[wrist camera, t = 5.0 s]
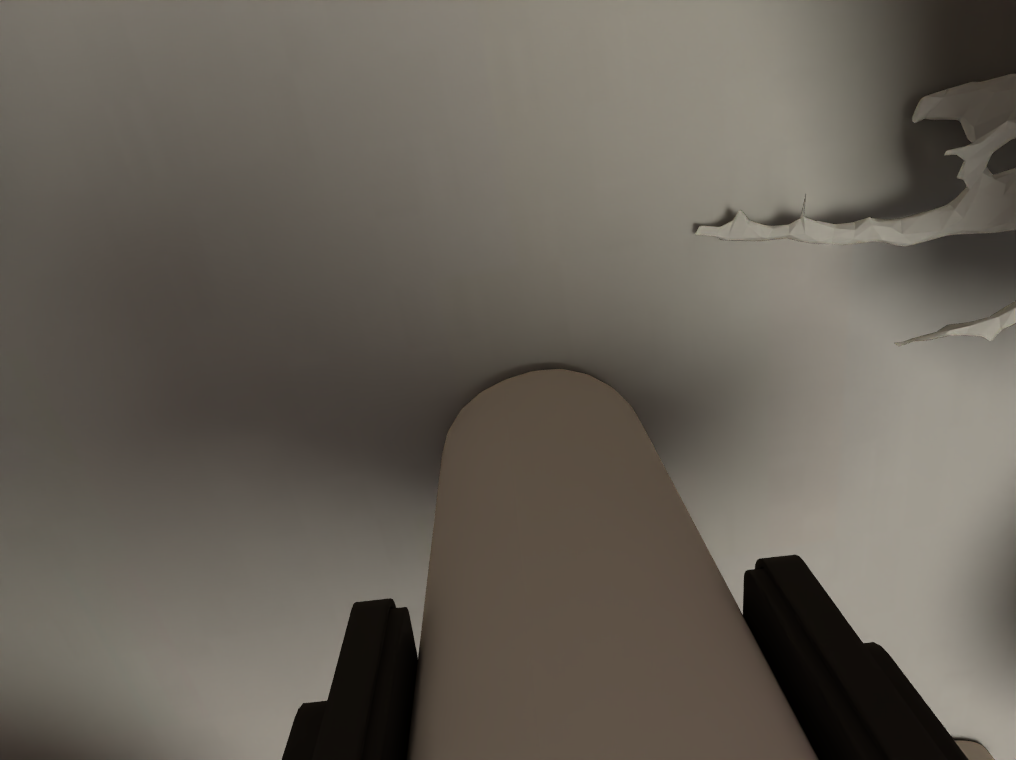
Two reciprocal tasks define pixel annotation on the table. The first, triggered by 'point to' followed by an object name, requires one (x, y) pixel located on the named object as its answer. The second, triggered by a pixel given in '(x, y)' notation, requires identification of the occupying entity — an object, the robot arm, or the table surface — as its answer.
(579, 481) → the grey cylinder
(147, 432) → the table surface
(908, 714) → the robot arm
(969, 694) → the table surface
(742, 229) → the decorative object
